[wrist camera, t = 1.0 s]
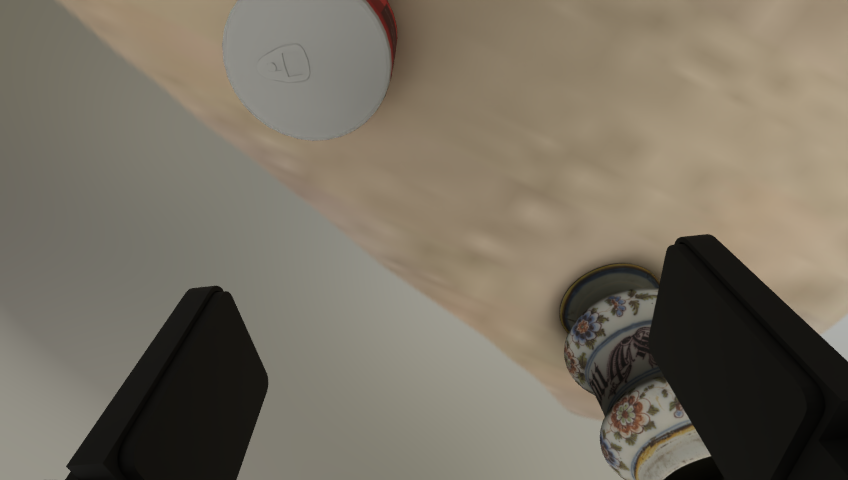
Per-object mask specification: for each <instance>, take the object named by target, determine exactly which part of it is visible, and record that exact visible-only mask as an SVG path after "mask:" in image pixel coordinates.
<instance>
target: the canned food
mask: <svg viewBox="0 0 848 480" xmlns="http://www.w3.org/2000/svg"><path fill="white" fill-rule="evenodd" d="M396 45H397V26H396V22H395V18H394V14H393V12H392V10H391V8H390V5H389V3H388V1H387V0H238V1H237V2H236V4H235V6H234V7H233V9H232V10H231V12H230V14H229V17H228V20H227V22H226V25H225V28H224V35H223V43H222V47H223V61H224V65H225V69H226V72H227V76H228V79H229V81H230V83H231V85H232V87H233V89H234V92H235V93H236V95H237V96H238V98H239V99H240V100H241V102H242V103H243V105H244V106H245V107H246V108H247V109H248V110H249V111H250V112H251V113H252V114H253V115H254V116H255V117H256V118H257V119H258V120H260V121H261V122H263V123H264V124H265V125H267V126H268V127H270V128H272V129H274V130H276V131H278V132H280V133H282V134H284V135H287V136H291V137H294V138H297V139H304V140H312V141H315V140H329V139H333V138H337V137H341V136H343V135H346V134H348V133H350V132H352V131H354V130H356V129H357V128H358V127H360V126H361V125H363V124H364V123H365V122H367V120H368V119H369V118H370V117H371V116H372V115H373V114H374V113H375V111H376V110H377V109H378V107H379V106H380V104H381V102H382V100H383V99H384V97H385V95H386V92H387V89H388V86H389V83H390V79H391V76H392V70H393V64H394V58H395V52H396Z"/></svg>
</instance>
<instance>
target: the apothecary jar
mask: <svg viewBox="0 0 848 480" xmlns="http://www.w3.org/2000/svg"><path fill="white" fill-rule="evenodd" d="M659 284H660V283H659V281H658V280H657V278H656V277H655V276H654V275H653V274H652V273H651V272H650V271H648V270H646V269H645V268H642V267H640V266H636V265H631V264H612V265H608V266H604V267H601V268H598V269H595V270H593V271H591V272H589V273H587V274H586V275H584V276H582V277H581V278H580V279H578V280H577V281H576V282H575V283H574V284H573V285H572V286H571V287H570V288H569V290H568V291H567V292H566V294H565V296H564V298H563V300H562V303H561V306H560V320H561V323H562V326H563V327H564V329H565V330H566V331H567V332H568V333H569V334H568V336H567V339H566V342H565V348H564V356H565V362H566V366H567V368H568V370H569V372H570V374H571V376H572V377H573V379H574V380H575V381H576V382H577V383H578V384H579V385H580V386H581V387H582V388H583V389H585V390H586V391H588V392H590V393H591V394H593V395H595V396H596V398H597V400H598V402H599V404H600V406H601V409H602V411H603V413H604V415H605V418H604V420H603V423H602V426H601V431H600V444H601V449H602V452H603V454H604V457H605V459H606V461H607V463H608V464H609V465H610V467H611V468H612V469H613V470H614V471H615V472H616V473H617V474H618V475H619V476H621V477H622V478H623V479H624V480H725V478H724V477H723V475H722V473H721V472H720V470H719V468H718V467H717V465H716V463H715V462H714V460H713V458H712V456H711V455H710V453H709V451H708V450H707V448H706V446H705V445H704V443H703V441H702V440H701V438H700V436H699V434H698V433H697V431H696V429H695V428H694V426H693V424H692V423H691V421H690V419H689V418H688V416H687V414H686V413H685V411H684V409H683V407H682V406H681V404H680V402H679V401H678V399H677V397H676V396H675V394H674V392H673V391H672V389H671V387H670V385H669V384H668V382H667V380H666V379H665V377H664V375H663V374H662V372H661V370H660V369H659V367H658V365H657V363H656V362H655V360H654V358H653V357H652V355H651V353H650V350H649V345H648V337H649V332H650V327H651V323H652V318H653V313H654V308H655V304H656V299H657V294H658V289H659Z"/></svg>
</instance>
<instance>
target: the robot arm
mask: <svg viewBox="0 0 848 480" xmlns="http://www.w3.org/2000/svg"><path fill="white" fill-rule="evenodd" d="M648 345H649V350H650V353H651V355H652V357H653V358H654V360H655V362H656V363H657V365H658V367H659V369H660V370H661V372H662V374H663V375H664V377H665V379H666V380H667V382H668V384H669V385H670V387H671V389H672V391H673V392H674V394H675V396H676V397H677V399H678V401H679V402H680V404H681V406H682V407H683V409H684V411H685V413H686V414H687V416H688V418H689V419H690V421H691V423H692V424H693V426H694V428H695V429H696V431H697V433H698V434H699V436H700V438H701V440H702V441H703V443H704V445H705V446H706V448H707V450H708V451H709V453H710V455H711V456H712V458H713V460H714V462H715V463H716V465H717V467H718V468H719V470H720V472H721V473H722V475H723V477H724V478H725V480H848V362H847V360H845V359H844V358H843V357H842V356H841V355H840V354H839V353H838V352H837V351H836V350H835V349H834V348H833V347H832V346H830V345H829V344H828V343H827V342H826V341H825V340H824V339H823V338H822V337H821V336H820V335H819V334H818V333H817V332H816V331H814V330H813V329H812V328H811V327H810V326H809V325H808V324H807V323H806V322H805V321H804V320H803V319H802V318H801V317H800V316H798V315H797V314H796V313H795V312H794V311H793V310H792V309H791V308H790V307H789V306H788V305H787V304H786V303H785V302H784V301H782V300H781V299H780V298H779V297H778V296H777V295H776V294H775V293H774V292H773V291H772V290H771V289H770V288H769V287H767V286H766V285H765V284H764V283H763V282H762V281H761V280H760V279H759V278H758V277H757V276H756V275H755V274H754V273H753V272H751V271H750V270H749V269H748V268H747V267H746V266H745V265H744V264H743V263H742V262H741V261H740V260H739V259H738V258H737V257H735V256H734V255H733V254H732V253H731V252H730V251H729V250H728V249H727V248H726V247H725V246H724V245H723V244H722V243H721V242H719V241H718V240H717V239H716V238H715V237H714V236H712V235H709V234H706V235H696V236H687V237H680V238H678V239H677V240H676V241H675V244H674V245H671V246H669V247H668V248H667V251H666V256H665V260H664V265H663V270H662V275H661V280H660V284H659V289H658V294H657V299H656V304H655V308H654V313H653V318H652V323H651V327H650V332H649V337H648ZM267 389H268V376H267V373H266V371H265V369H264V366H263V364H262V362H261V360H260V357H259V355H258V353H257V351H256V348H255V346H254V344H253V342H252V340H251V337H250V335H249V333H248V331H247V329H246V326H245V324H244V322H243V320H242V317H241V315H240V313H239V311H238V308H237V306H236V304H235V302H234V300H233V297H232V296H231V294H230V293H229V292H226V291H225V292H224V291H223V289H222V288H221V287H219V286H210V287H200V288H192V289H189V290H188V291H187V292H186V293H185V295H184V296H183V298H182V299H181V301H180V302H179V303H178V305H177V306H176V308H175V309H174V311H173V312H172V314H171V315H170V316H169V318H168V319H167V321H166V322H165V324H164V325H163V327H162V328H161V330H160V331H159V332H158V334H157V335H156V337H155V339H154V340H153V341H152V343H151V344H150V346H149V347H148V348H147V350H146V351H145V353H144V354H143V356H142V357H141V359H140V360H139V361H138V363H137V364H136V366H135V368H134V369H133V370H132V372H131V373H130V375H129V376H128V377H127V379H126V380H125V382H124V383H123V385H122V386H121V388H120V389H119V390H118V392H117V394H116V395H115V396H114V398H113V399H112V401H111V402H110V404H109V405H108V406H107V408H106V409H105V411H104V412H103V414H102V415H101V417H100V418H99V420H98V421H97V422H96V424H95V425H94V427H93V428H92V430H91V431H90V433H89V434H88V435H87V437H86V438H85V440H84V441H83V443H82V444H81V446H80V447H79V449H78V450H77V451H76V453H75V454H74V456H73V457H72V459H71V460H70V462H69V463H68V464H67V466H66V467H67V468H68V469H69V470H70V471H71V472H70V473H69V475H68V476H67V478H66V479H65V480H236V479H237V476H238V474H239V471H240V468H241V465H242V462H243V459H244V456H245V453H246V450H247V448H248V445H249V442H250V439H251V436H252V433H253V430H254V427H255V424H256V422H257V419H258V416H259V413H260V410H261V407H262V404H263V401H264V398H265V395H266V392H267Z"/></svg>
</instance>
